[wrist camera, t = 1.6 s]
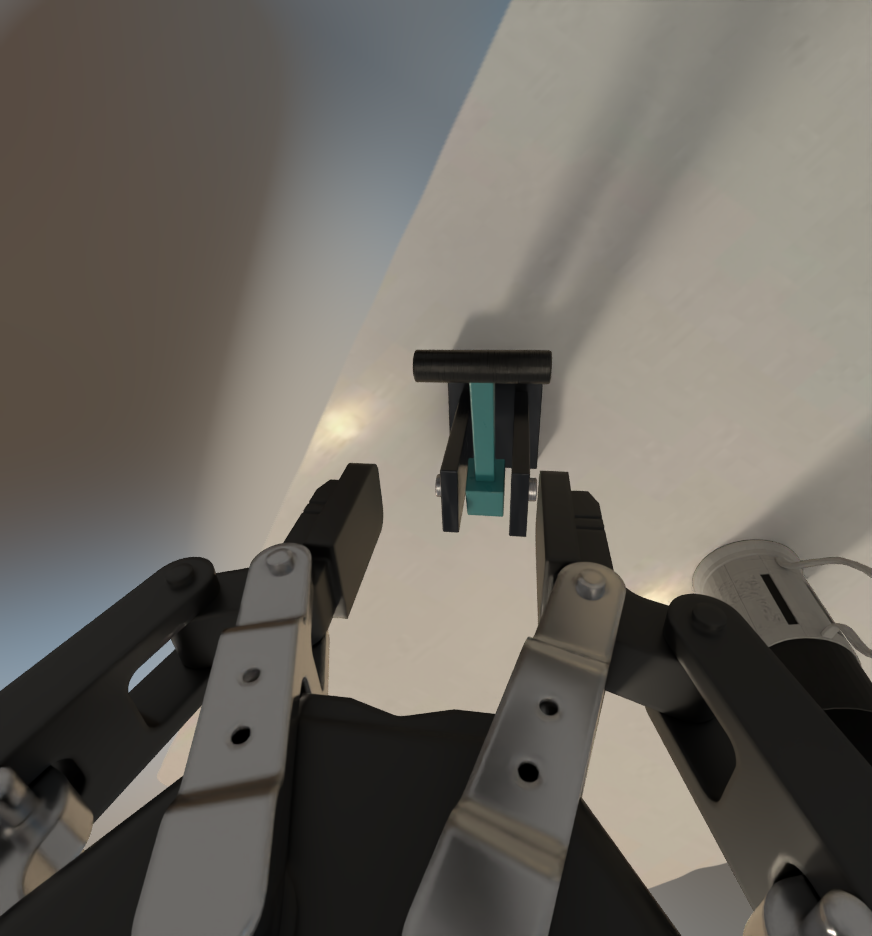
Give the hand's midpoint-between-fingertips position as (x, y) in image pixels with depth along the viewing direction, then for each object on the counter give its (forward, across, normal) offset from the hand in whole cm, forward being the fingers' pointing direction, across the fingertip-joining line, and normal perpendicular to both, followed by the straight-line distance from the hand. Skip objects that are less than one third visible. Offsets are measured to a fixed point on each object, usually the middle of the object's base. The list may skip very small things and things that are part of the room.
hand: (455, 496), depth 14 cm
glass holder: (+26, -23, +22) cm, 41 cm away
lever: (+13, 0, +4) cm, 14 cm away
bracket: (+25, 0, +9) cm, 27 cm away
